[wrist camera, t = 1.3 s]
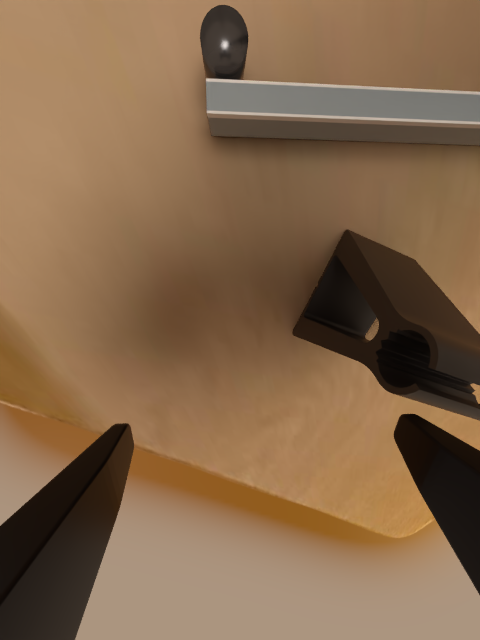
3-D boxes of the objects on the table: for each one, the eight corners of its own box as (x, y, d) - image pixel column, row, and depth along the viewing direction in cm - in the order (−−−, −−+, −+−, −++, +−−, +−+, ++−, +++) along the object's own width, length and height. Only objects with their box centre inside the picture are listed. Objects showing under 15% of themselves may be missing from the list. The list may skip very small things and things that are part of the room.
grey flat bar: (496, 125, 16) (590, 97, 12) (489, 147, 17) (576, 128, 12) (210, 113, 15) (205, 78, 11) (211, 137, 15) (206, 113, 11)
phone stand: (350, 352, 23) (465, 486, 12) (291, 332, 22) (359, 461, 11) (411, 258, 20) (646, 325, 9) (346, 228, 18) (523, 262, 8)
